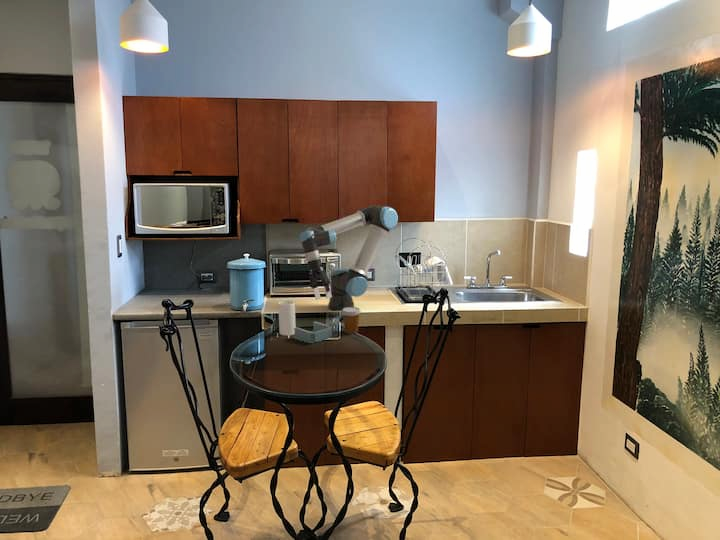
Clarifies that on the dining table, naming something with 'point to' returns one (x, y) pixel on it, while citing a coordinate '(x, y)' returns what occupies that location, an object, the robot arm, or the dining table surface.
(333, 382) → the dining table surface
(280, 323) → the cup
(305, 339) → the end holder
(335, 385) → the dining table surface
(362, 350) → the dining table surface
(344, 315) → the disposable coffee cup
